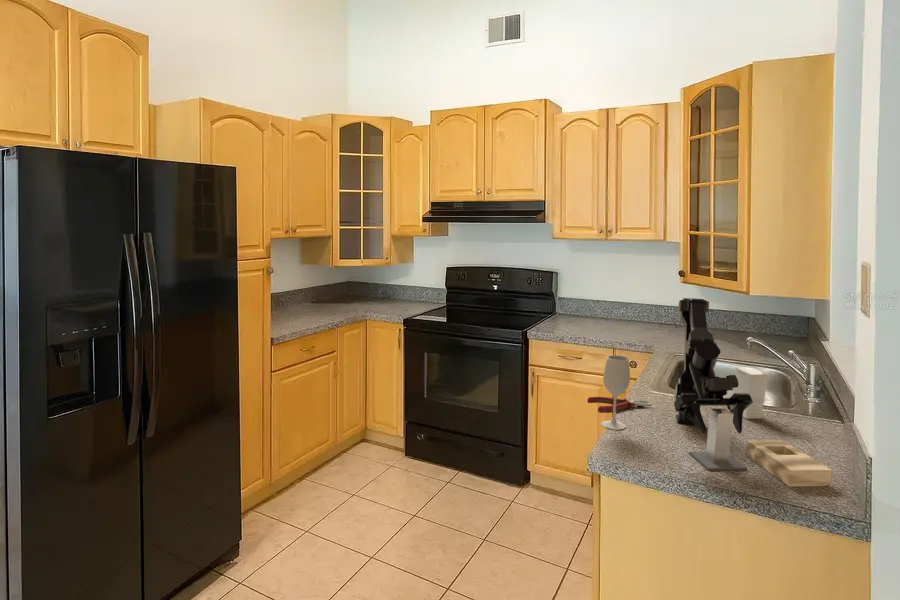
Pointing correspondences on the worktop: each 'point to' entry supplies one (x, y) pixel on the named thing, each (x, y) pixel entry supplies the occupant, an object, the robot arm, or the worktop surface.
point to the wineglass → (616, 384)
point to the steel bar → (719, 435)
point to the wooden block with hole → (788, 463)
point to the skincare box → (752, 389)
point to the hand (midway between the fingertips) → (722, 432)
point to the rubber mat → (710, 465)
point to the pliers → (620, 404)
